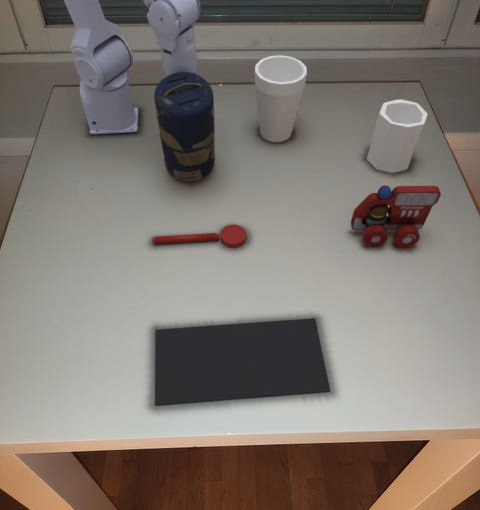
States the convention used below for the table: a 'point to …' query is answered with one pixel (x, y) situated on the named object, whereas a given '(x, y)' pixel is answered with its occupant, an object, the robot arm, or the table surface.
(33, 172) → the table surface
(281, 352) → the placemat
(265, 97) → the foam cup
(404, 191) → the toy fire truck
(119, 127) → the robot arm
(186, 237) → the spoon
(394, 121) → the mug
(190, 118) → the canister
